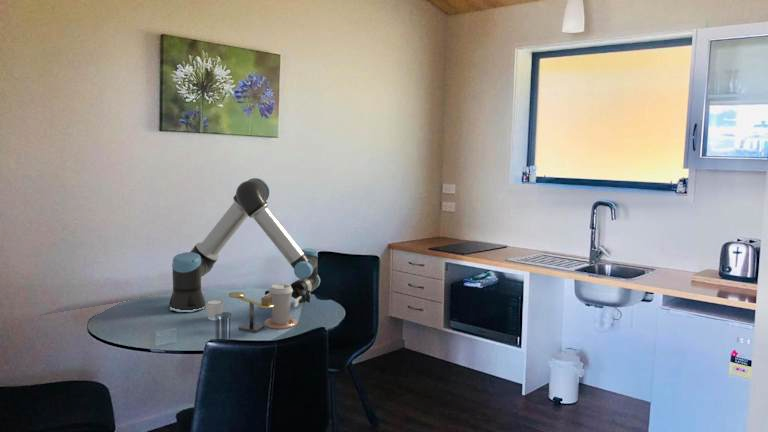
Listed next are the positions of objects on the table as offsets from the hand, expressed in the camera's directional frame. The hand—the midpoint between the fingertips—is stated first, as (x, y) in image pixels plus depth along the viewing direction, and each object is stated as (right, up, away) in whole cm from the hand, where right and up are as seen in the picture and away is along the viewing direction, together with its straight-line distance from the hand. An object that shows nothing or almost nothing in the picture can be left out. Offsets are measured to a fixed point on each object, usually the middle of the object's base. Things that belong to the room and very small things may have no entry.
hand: (279, 301), depth 250 cm
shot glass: (-28, -8, +7) cm, 30 cm away
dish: (0, -9, +3) cm, 10 cm away
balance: (-10, -10, -4) cm, 15 cm away
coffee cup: (0, -9, +3) cm, 9 cm away
